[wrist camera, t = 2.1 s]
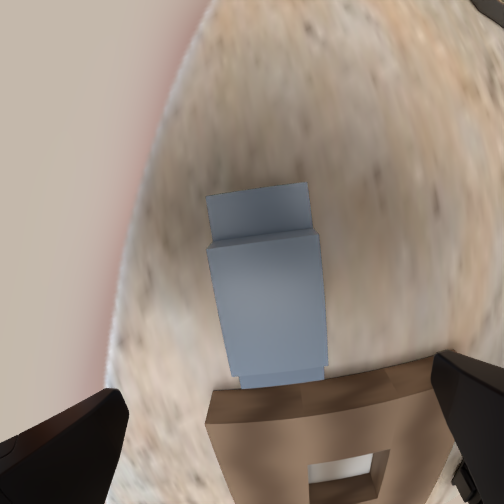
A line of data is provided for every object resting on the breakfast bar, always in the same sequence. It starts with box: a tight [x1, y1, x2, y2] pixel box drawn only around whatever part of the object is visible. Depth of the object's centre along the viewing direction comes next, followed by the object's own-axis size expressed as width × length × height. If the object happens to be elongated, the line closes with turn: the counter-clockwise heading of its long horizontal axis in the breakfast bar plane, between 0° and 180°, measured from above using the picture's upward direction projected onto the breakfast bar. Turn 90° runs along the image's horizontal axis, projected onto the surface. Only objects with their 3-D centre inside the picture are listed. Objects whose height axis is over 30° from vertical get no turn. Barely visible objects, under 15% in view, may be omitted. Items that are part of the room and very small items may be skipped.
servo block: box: [206, 182, 328, 389], centre depth 15 cm, size 4×10×6 cm, turn 8°
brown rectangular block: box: [205, 350, 457, 504], centre depth 20 cm, size 18×18×4 cm
